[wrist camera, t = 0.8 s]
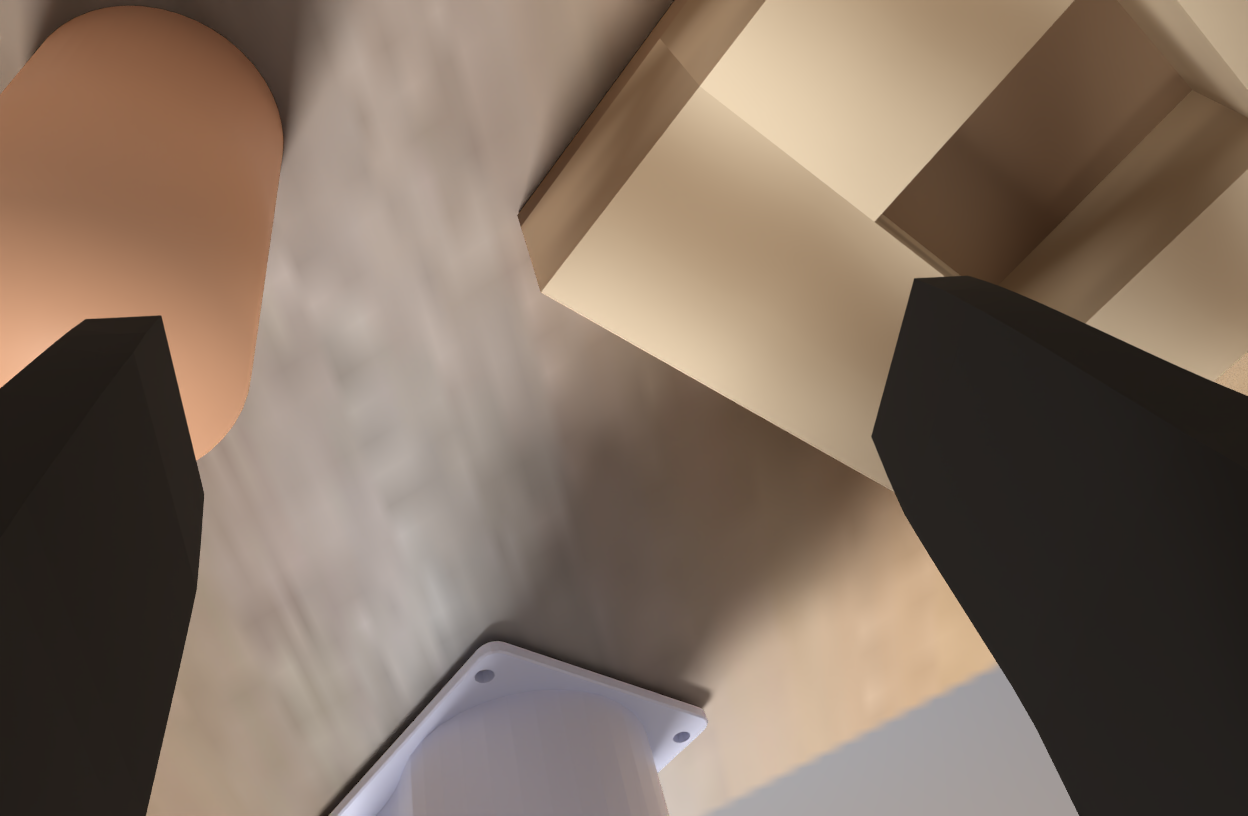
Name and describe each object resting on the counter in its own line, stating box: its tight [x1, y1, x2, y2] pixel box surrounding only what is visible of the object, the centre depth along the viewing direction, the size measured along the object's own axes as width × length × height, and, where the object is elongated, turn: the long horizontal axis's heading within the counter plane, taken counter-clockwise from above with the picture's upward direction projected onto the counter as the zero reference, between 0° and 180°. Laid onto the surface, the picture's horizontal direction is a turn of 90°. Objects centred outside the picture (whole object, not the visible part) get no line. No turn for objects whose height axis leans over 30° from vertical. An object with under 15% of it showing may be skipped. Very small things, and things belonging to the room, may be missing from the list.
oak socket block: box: [518, 0, 1248, 493], centre depth 19 cm, size 14×14×3 cm
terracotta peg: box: [0, 6, 283, 461], centre depth 14 cm, size 4×4×7 cm
